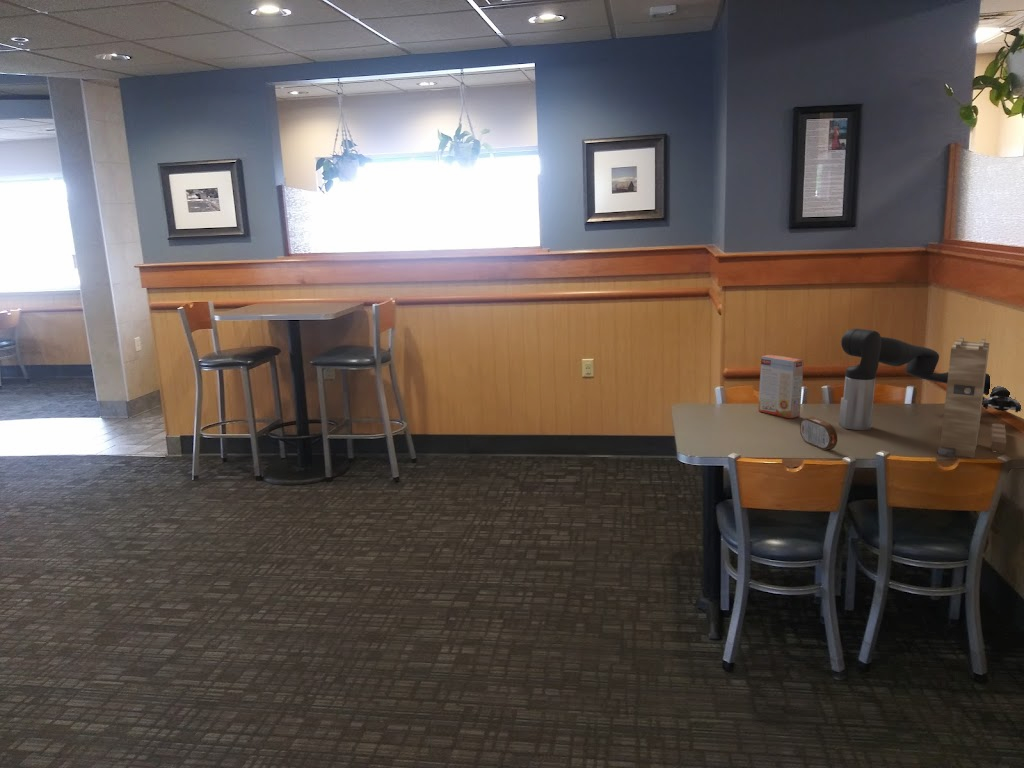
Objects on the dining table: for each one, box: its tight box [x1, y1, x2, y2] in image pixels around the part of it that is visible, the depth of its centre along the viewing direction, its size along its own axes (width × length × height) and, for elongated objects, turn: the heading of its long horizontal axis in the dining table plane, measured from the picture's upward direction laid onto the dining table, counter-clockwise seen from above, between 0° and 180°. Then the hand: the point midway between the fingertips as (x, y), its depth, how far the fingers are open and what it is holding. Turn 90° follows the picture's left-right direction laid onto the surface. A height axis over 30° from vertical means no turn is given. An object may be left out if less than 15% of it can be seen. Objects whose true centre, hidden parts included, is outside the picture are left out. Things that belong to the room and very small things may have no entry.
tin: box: [799, 416, 838, 451], centre depth 241 cm, size 15×3×8 cm, turn 17°
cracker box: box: [757, 354, 805, 419], centre depth 277 cm, size 14×6×21 cm, turn 34°
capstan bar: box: [990, 422, 1007, 454], centre depth 243 cm, size 24×4×4 cm, turn 149°
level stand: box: [937, 336, 990, 458], centre depth 231 cm, size 22×9×33 cm, turn 147°
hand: (1001, 407), depth 255 cm, fingers open, 8 cm apart
